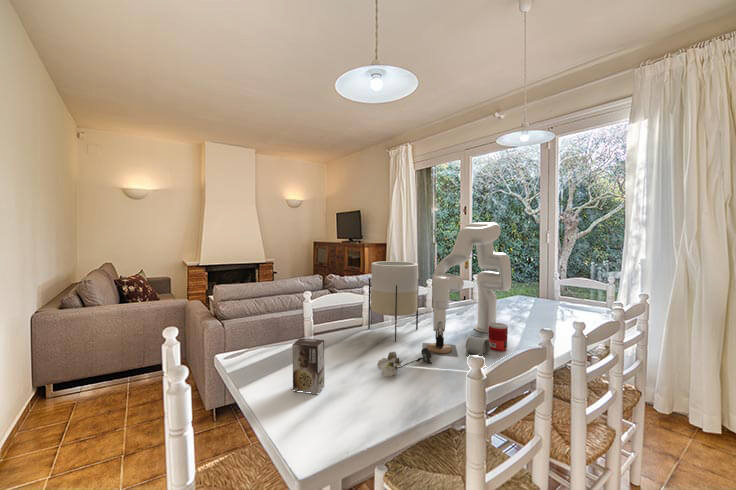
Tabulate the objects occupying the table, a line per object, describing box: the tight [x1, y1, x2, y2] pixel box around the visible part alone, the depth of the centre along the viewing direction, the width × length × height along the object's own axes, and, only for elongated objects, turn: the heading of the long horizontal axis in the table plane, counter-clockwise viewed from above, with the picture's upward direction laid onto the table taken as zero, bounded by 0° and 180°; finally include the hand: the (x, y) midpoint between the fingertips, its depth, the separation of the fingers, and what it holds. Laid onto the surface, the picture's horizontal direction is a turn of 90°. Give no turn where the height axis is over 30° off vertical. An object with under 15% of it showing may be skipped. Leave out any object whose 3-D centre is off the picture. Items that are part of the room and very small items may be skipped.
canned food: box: [487, 322, 509, 353], centre depth 155 cm, size 8×8×11 cm
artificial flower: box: [376, 348, 433, 377], centre depth 132 cm, size 9×22×10 cm, turn 114°
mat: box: [421, 342, 459, 358], centre depth 152 cm, size 15×15×1 cm
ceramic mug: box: [465, 336, 491, 358], centre depth 147 cm, size 11×8×8 cm
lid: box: [427, 335, 452, 354], centre depth 152 cm, size 11×11×6 cm
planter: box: [367, 260, 420, 343], centre depth 175 cm, size 26×27×36 cm
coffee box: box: [291, 337, 325, 394], centre depth 114 cm, size 9×6×16 cm
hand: (439, 342), depth 152 cm, fingers open, 9 cm apart
